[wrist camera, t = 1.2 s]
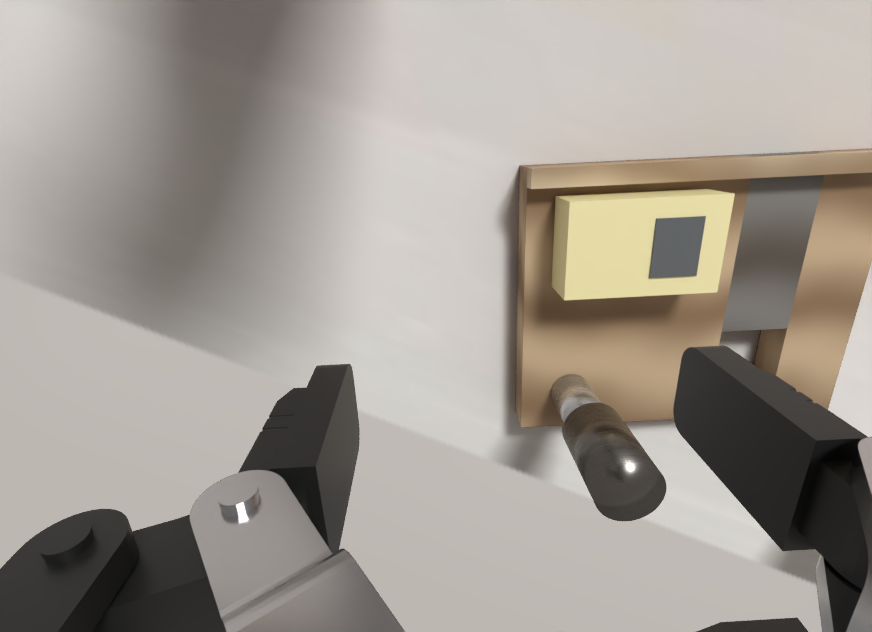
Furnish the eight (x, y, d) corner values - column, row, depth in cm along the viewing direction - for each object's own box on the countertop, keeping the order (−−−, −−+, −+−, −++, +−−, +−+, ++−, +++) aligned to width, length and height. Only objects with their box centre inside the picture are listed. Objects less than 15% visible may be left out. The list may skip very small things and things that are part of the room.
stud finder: (555, 196, 25) (570, 202, 22) (705, 188, 25) (736, 193, 22) (551, 286, 26) (564, 301, 24) (690, 279, 26) (718, 293, 24)
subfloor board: (519, 165, 26) (531, 168, 23) (870, 148, 26) (924, 149, 24) (515, 410, 32) (524, 436, 29) (803, 394, 32) (840, 419, 29)
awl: (545, 369, 28) (597, 465, 20) (596, 366, 28) (670, 461, 20) (543, 414, 30) (591, 523, 21) (593, 411, 30) (661, 519, 21)
